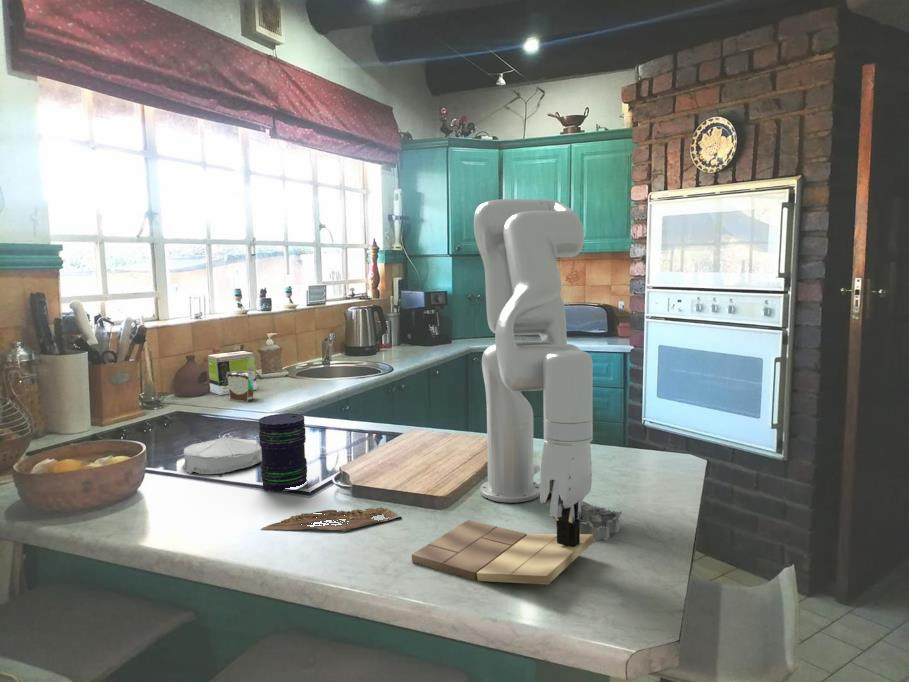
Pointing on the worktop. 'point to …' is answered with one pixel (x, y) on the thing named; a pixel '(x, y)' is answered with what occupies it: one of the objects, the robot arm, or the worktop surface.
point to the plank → (533, 560)
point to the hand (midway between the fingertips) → (568, 543)
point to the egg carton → (598, 521)
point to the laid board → (467, 548)
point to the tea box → (228, 369)
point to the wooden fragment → (354, 517)
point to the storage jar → (282, 451)
